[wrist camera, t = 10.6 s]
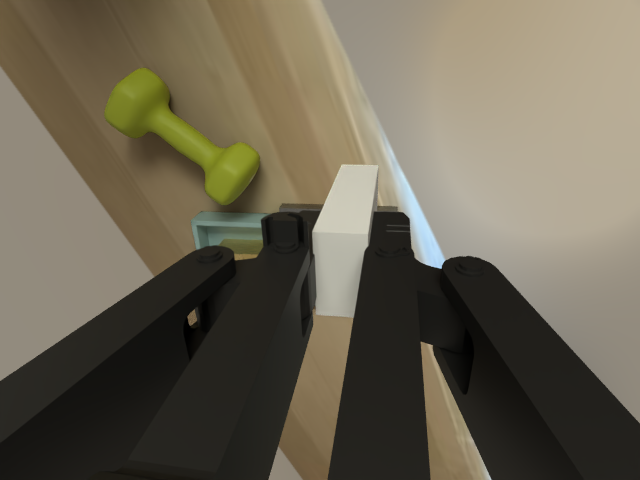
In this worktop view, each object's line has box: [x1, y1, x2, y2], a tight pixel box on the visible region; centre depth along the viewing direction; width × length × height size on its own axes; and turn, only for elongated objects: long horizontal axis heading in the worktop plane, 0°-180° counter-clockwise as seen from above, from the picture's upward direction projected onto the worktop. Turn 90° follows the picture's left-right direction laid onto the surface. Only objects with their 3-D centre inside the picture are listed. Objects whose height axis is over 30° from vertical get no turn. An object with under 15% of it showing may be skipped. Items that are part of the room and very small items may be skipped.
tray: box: [191, 211, 270, 250], centre depth 53 cm, size 11×11×3 cm
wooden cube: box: [243, 239, 263, 259], centre depth 51 cm, size 4×4×4 cm
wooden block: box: [218, 239, 253, 260], centre depth 52 cm, size 4×4×4 cm
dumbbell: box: [104, 68, 260, 205], centre depth 45 cm, size 16×8×7 cm, turn 53°
